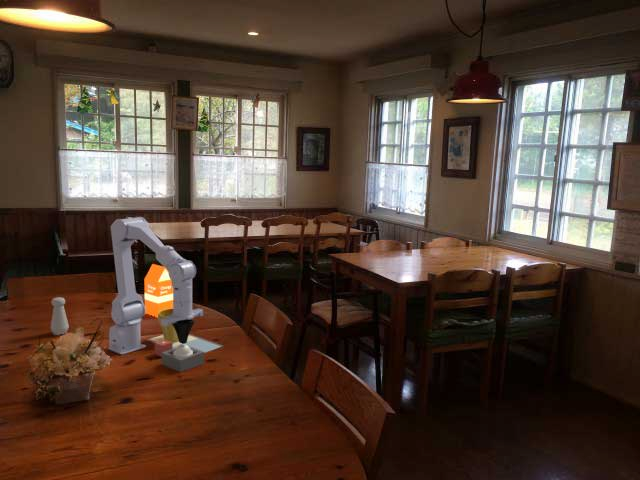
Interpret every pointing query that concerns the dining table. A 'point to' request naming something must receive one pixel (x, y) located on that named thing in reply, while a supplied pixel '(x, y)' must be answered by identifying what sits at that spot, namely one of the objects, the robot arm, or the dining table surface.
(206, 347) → the game board
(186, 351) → the dome button
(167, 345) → the red die
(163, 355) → the dome base
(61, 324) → the salt shaker
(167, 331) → the plant pot
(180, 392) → the dining table surface
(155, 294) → the orange juice
